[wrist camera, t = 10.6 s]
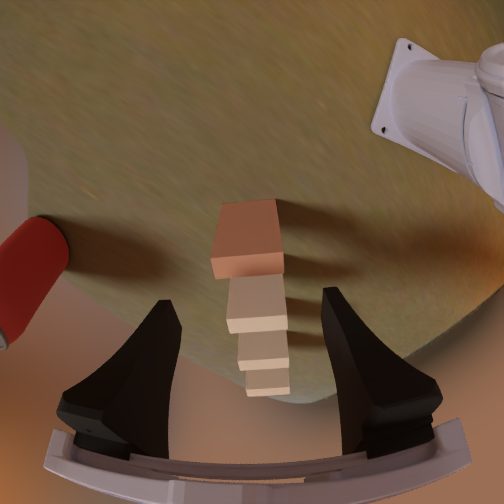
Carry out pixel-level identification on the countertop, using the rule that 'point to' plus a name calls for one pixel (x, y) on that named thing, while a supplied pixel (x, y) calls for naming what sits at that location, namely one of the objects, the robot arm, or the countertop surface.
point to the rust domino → (248, 240)
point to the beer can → (28, 273)
